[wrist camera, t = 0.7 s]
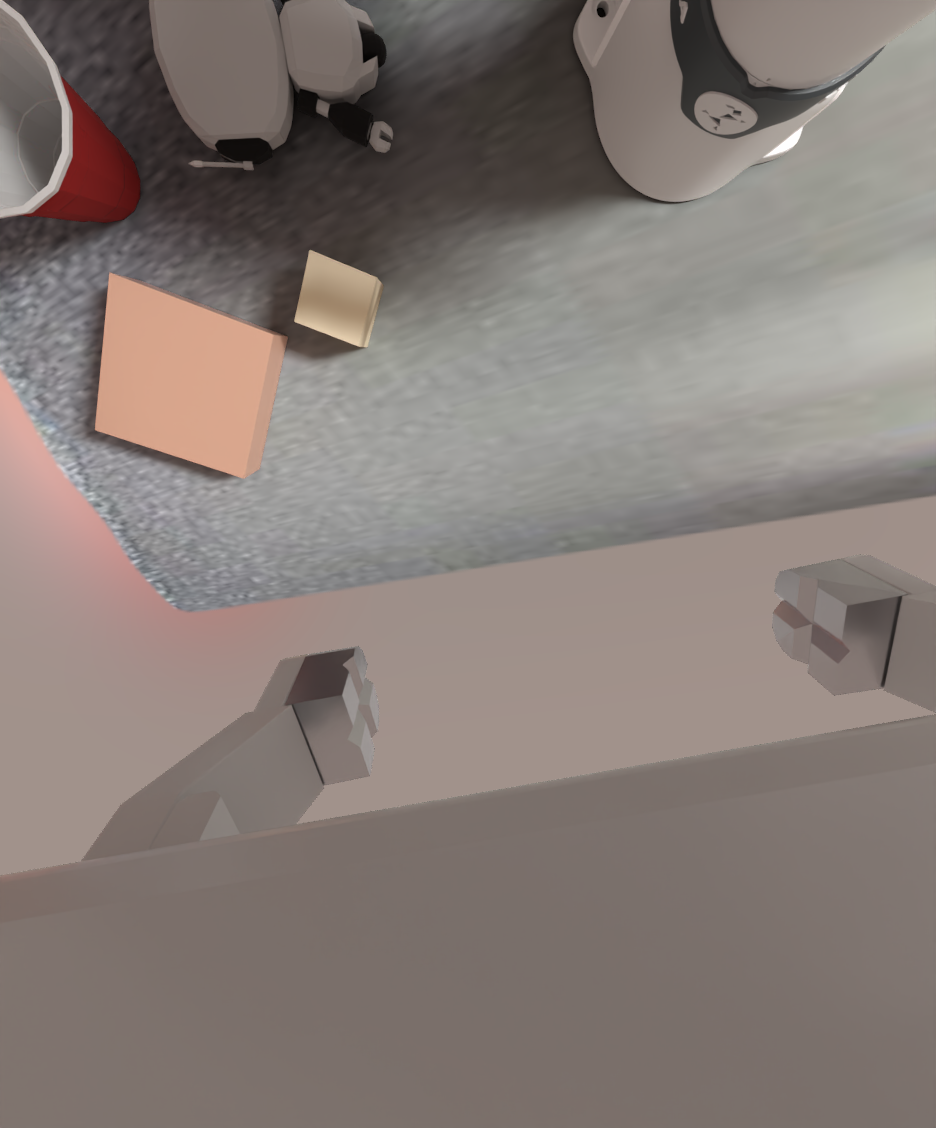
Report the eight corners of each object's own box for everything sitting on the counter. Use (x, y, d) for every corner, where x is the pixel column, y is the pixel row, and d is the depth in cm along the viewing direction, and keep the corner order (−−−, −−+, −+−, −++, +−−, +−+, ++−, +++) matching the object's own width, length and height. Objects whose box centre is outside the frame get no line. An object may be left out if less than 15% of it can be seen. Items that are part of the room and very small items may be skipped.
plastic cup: (120, 54, 35) (-27, -84, 24) (202, 226, 39) (109, 175, 28) (-12, 117, 36) (-212, 12, 25) (81, 278, 40) (-54, 249, 29)
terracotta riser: (139, 280, 40) (109, 272, 37) (288, 336, 43) (273, 334, 39) (123, 423, 45) (94, 430, 41) (259, 468, 47) (244, 478, 43)
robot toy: (374, -43, 35) (149, -37, 34) (370, -98, 31) (114, -94, 29) (398, 172, 40) (202, 184, 38) (398, 150, 35) (178, 163, 34)
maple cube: (324, 261, 41) (309, 249, 36) (383, 285, 42) (376, 277, 37) (310, 325, 42) (294, 321, 38) (367, 347, 43) (358, 346, 39)
